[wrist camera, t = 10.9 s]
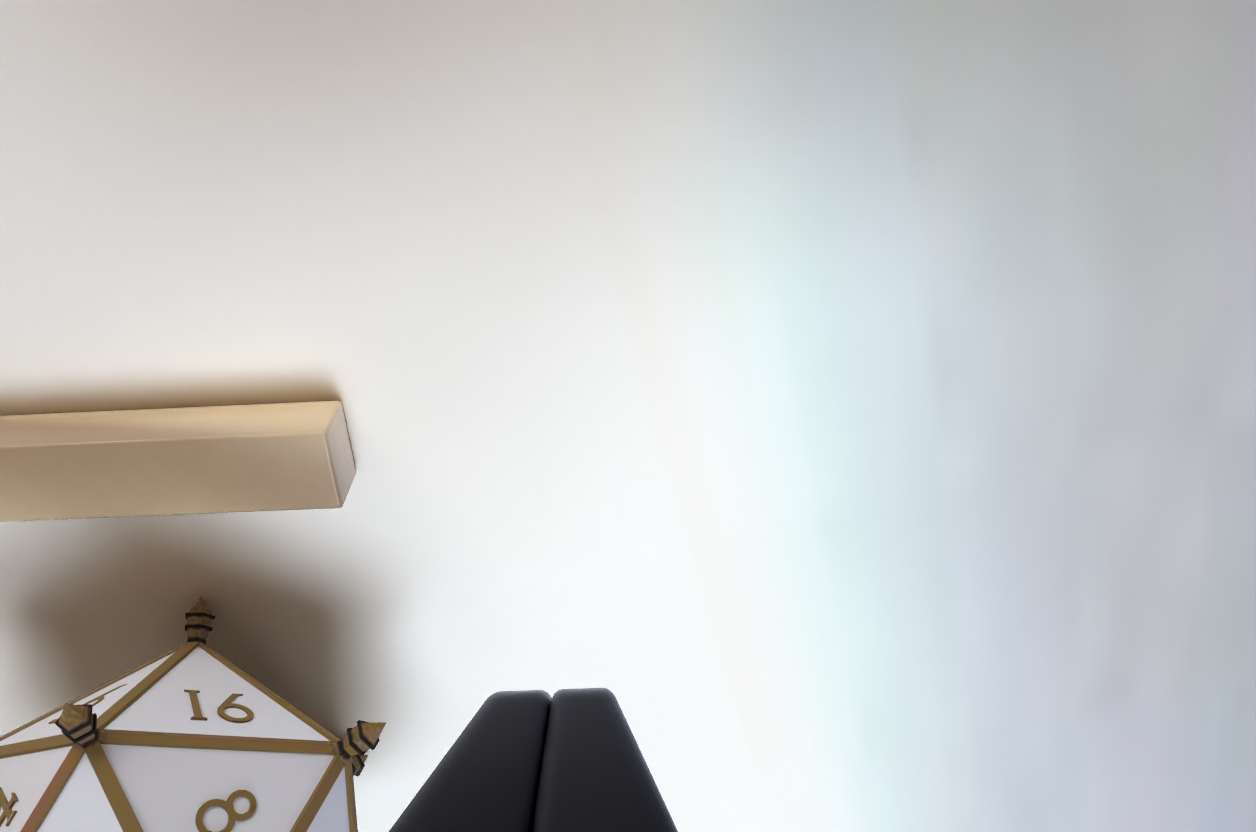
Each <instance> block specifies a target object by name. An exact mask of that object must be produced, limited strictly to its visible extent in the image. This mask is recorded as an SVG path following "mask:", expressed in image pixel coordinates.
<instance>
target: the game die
mask: <svg viewBox="0 0 1256 832" xmlns="http://www.w3.org/2000/svg"><path fill="white" fill-rule="evenodd" d="M185 616H186V619H187V625H185V626H184V628H185V631H187V633H188V640H187V642H186V643H184V644H182V645H180V646H178V647H176V648H174V649H172V650H170V651H168V652H166V653H164V654H162V655H160V656H158V657H156V658H154V659H152V660H151V661H149V662H147V663H145V664H143V665H141V666H139V667H137V668H135V669H133V670H131V671H129V672H127V673H125V674H123V675H121V676H119V677H117V678H115V679H113V680H111V681H109V682H107V683H105V684H103V685H101V686H100V687H98V688H96V689H94V690H92V691H90V692H88V693H86V694H84V695H82V696H80V697H78V698H76V699H74V700H72V701H70V702H68V703H66V704H64V705H62V706H60V707H58V708H56V709H54V710H52V711H50V712H49V713H47V714H45V715H43V716H41V717H39V718H37V719H35V720H33V721H31V722H29V723H27V724H25V725H23V726H21V727H19V728H17V729H15V730H13V731H11V732H9V733H7V734H5V735H3V736H1V737H0V832H358V830H357V818H356V806H355V795H354V783H353V776H354V775H356V776H359V775H360V773H361V771H362V769H363V768H364V766H365V765H364V762H365V760H366V758H367V756H368V755H364V754H365V752H366V750H368V749H369V748H371V749H372V750H373V749H375V747H376V745H377V744H378V742H379V738H378V737H379V735H380V733H381V731H382V730H383V728H384V726H385V724H386V723H369V722H364V721H360V720H359V721H358V722H357V726H356V727H354V728H348V729H347V734H346V736H345V737H344V738H343V740H341V739H340V738H338V737H337V736H335V735H334V734H332V733H331V732H330V731H328V730H327V729H325V728H324V727H323V726H321V725H320V724H318V723H317V722H316V721H314V720H313V719H311V718H310V717H308V716H307V715H306V714H304V713H303V712H301V711H300V710H299V709H297V708H296V707H294V706H293V705H292V704H290V703H289V702H287V701H286V700H285V699H283V698H282V697H280V696H279V695H277V694H276V693H275V692H273V691H272V690H270V689H269V688H268V687H266V686H265V685H263V684H262V683H261V682H259V681H258V680H256V679H255V678H253V677H252V676H251V675H249V674H248V673H246V672H245V671H244V670H242V669H241V668H239V667H238V666H237V665H235V664H234V663H232V662H231V661H230V660H228V659H227V658H225V657H224V656H222V655H221V654H220V653H218V652H217V651H215V650H214V649H213V648H211V647H210V646H208V645H207V644H206V640H205V639H206V637H207V635H208V633H209V631H212V630H213V627H210V626H211V620H212V619H215V616H213V615H211V613H210V611H209V609H208V608H207V606H206V604H205V602H204V600H203V598H202V597H201V598H200V599H199V600H198V602H197V603H196V604H195V605H194V607H193V608H192V609H191V610H190V612H189V613H185Z"/></svg>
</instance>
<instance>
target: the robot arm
mask: <svg viewBox="0 0 1256 832" xmlns="http://www.w3.org/2000/svg"><path fill="white" fill-rule="evenodd" d="M389 832H678V831H677V829H676V827H675V825H674V822H673V820H672V818H671V816H670V814H669V812H668V809H667V807H666V805H665V803H664V801H663V799H662V797H661V794H660V792H659V790H658V788H657V786H656V784H655V781H654V779H653V777H652V775H651V773H650V771H649V769H648V766H647V764H646V762H645V760H644V758H643V756H642V753H641V751H640V749H639V747H638V745H637V743H636V741H635V738H634V736H633V734H632V732H631V730H630V728H629V725H628V723H627V721H626V719H625V717H624V715H623V713H622V710H621V708H620V706H619V704H618V702H617V700H616V698H615V696H614V694H613V693H612V692H611V691H610V690H608V689H606V688H588V689H562V690H559V691H557V692H556V693H555V694H554V696H553V698H551V696H550V695H549V694H548V693H547V692H545V691H543V690H530V691H502V692H497V693H494V694H493V695H491V696H490V697H488V699H487V700H486V701H485V702H484V704H483V705H482V706H481V708H480V709H479V711H478V712H477V713H476V715H475V716H474V717H473V719H472V720H471V721H470V723H469V724H468V725H467V727H466V728H465V729H464V731H463V732H462V734H461V735H460V736H459V738H458V739H457V740H456V742H455V743H454V744H453V746H452V747H451V748H450V750H449V751H448V752H447V754H446V755H445V757H444V758H443V759H442V761H441V762H440V763H439V765H438V766H437V767H436V769H435V770H434V771H433V773H432V774H431V775H430V777H429V778H428V780H427V781H426V782H425V784H424V785H423V786H422V788H421V789H420V790H419V792H418V793H417V794H416V796H415V797H414V798H413V800H412V801H411V803H410V804H409V805H408V807H407V808H406V809H405V811H404V812H403V813H402V815H401V816H400V817H399V819H398V820H397V821H396V823H395V824H394V825H393V827H392V828H391V830H390V831H389Z"/></svg>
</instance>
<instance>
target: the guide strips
mask: <svg viewBox="0 0 1256 832" xmlns="http://www.w3.org/2000/svg"><path fill="white" fill-rule="evenodd" d="M355 474H356V469H355V465H354V460H353V455H352V450H351V446H350V441H349V436H348V431H347V426H346V422H345V417H344V412H343V407H342V403H341V402H340V401H319V402H297V403H275V404H252V405H230V406H207V407H185V408H163V409H140V410H118V411H95V412H73V413H51V414H28V415H6V416H0V522H9V521H34V520H58V519H82V518H107V517H131V516H155V515H180V514H204V513H228V512H253V511H277V510H301V509H325V508H340V507H342V506H343V504H344V501H345V499H346V496H347V494H348V491H349V489H350V486H351V484H352V481H353V479H354V476H355Z"/></svg>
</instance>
